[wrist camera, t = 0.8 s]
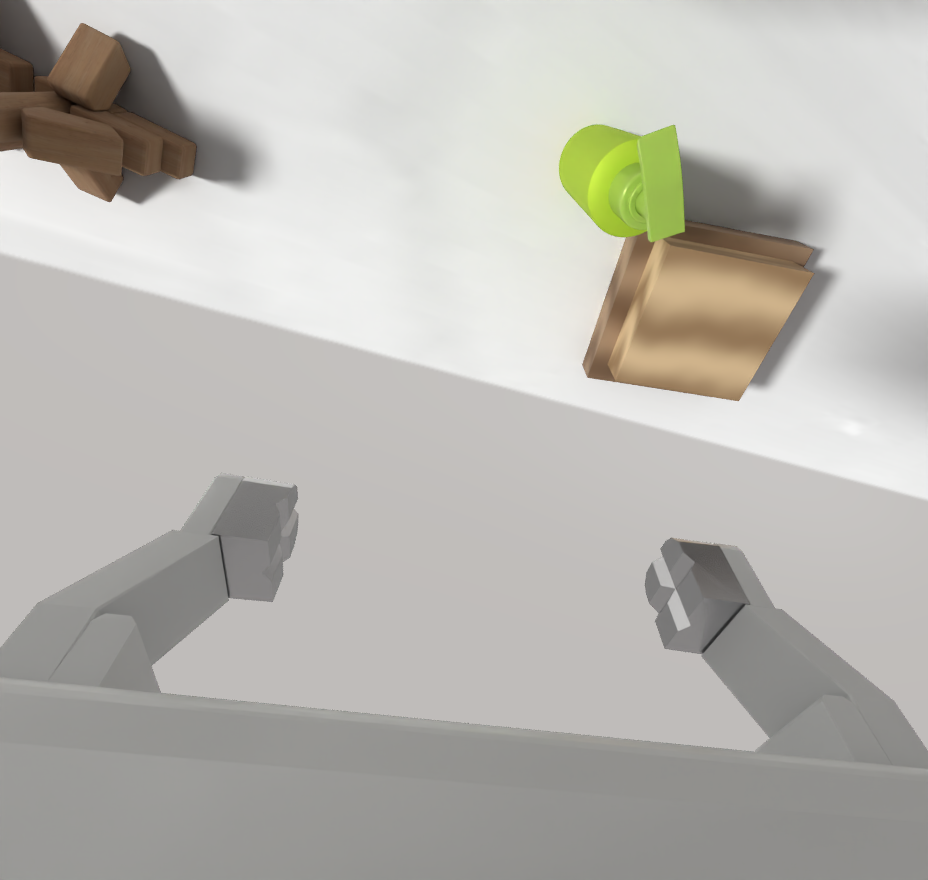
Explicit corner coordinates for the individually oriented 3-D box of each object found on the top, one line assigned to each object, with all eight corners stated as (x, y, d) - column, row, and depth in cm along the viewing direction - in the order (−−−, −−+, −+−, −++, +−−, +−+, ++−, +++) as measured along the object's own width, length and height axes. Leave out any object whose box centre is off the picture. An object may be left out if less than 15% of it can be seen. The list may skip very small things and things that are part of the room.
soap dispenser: (619, 98, 40) (720, 109, 24) (631, 187, 44) (724, 248, 28) (549, 126, 41) (600, 153, 25) (566, 210, 45) (620, 281, 29)
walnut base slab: (633, 209, 46) (644, 217, 43) (793, 239, 47) (813, 249, 44) (581, 362, 55) (587, 377, 52) (715, 383, 56) (729, 399, 54)
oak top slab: (657, 234, 44) (670, 245, 41) (792, 261, 45) (814, 273, 42) (607, 364, 51) (615, 380, 48) (724, 383, 52) (738, 401, 50)
